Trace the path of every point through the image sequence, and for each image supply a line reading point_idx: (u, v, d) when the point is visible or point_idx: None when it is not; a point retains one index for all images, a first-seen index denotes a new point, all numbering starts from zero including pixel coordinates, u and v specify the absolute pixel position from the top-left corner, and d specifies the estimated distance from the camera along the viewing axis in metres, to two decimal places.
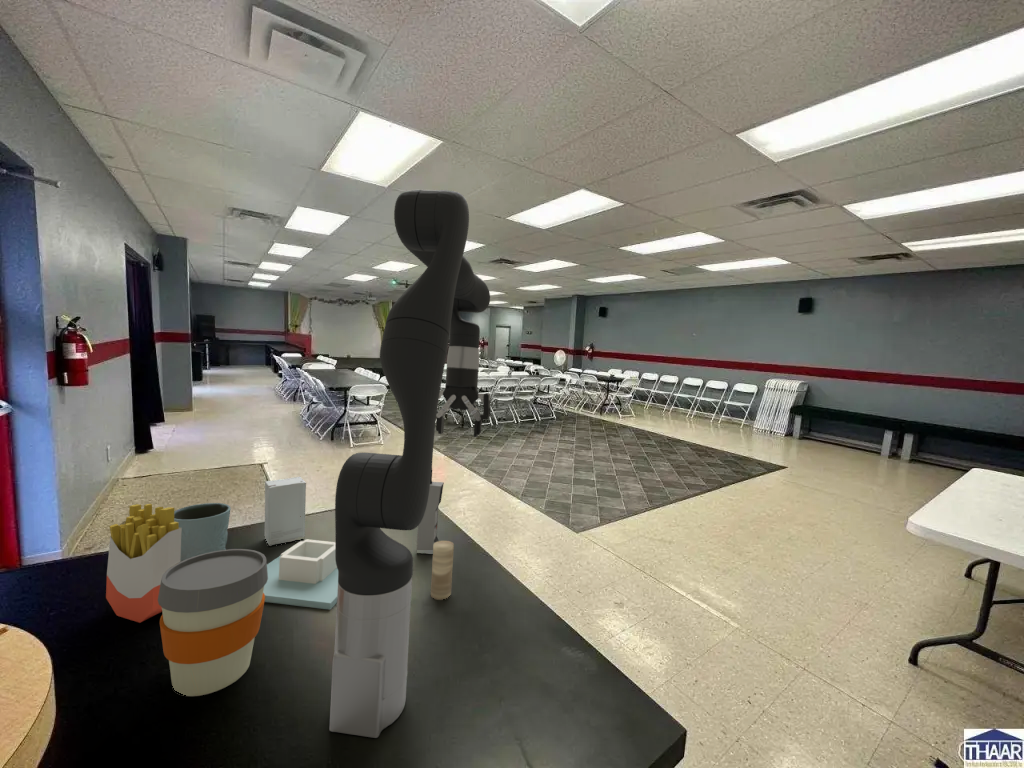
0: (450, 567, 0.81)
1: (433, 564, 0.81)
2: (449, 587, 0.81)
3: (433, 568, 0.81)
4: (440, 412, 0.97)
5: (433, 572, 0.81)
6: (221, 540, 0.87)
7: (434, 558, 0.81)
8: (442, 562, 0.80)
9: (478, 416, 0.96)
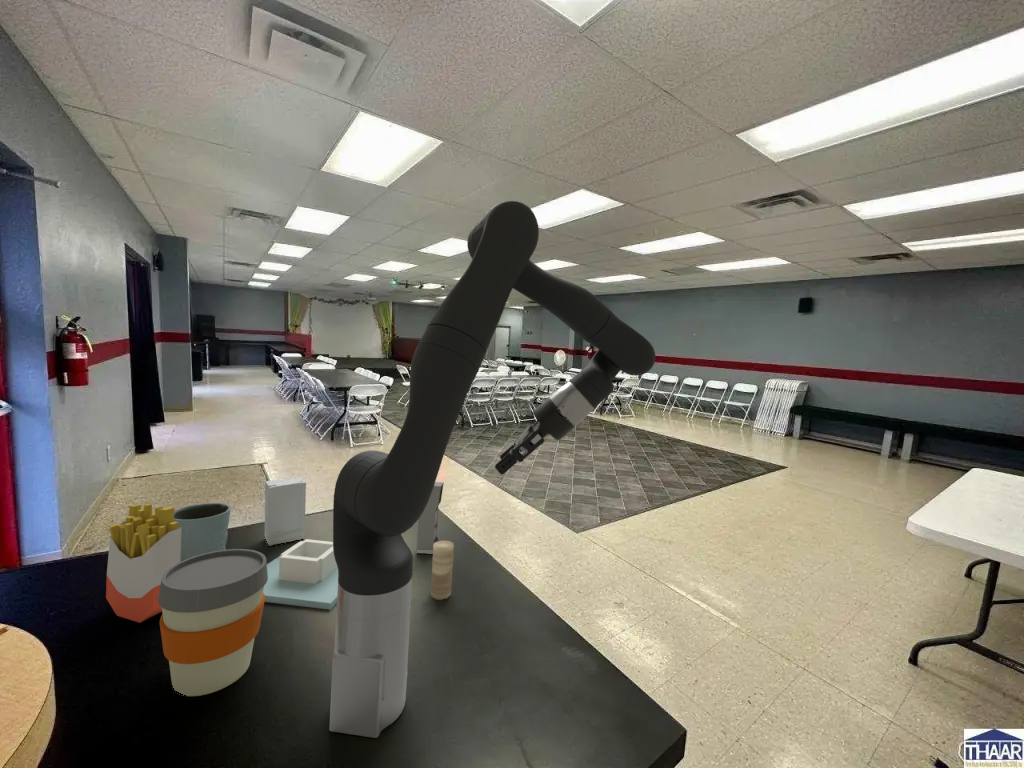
0: (450, 567, 0.81)
1: (433, 564, 0.81)
2: (449, 587, 0.81)
3: (433, 568, 0.81)
4: (517, 439, 0.84)
5: (433, 572, 0.81)
6: (221, 540, 0.87)
7: (434, 558, 0.81)
8: (442, 562, 0.80)
9: (513, 448, 0.75)
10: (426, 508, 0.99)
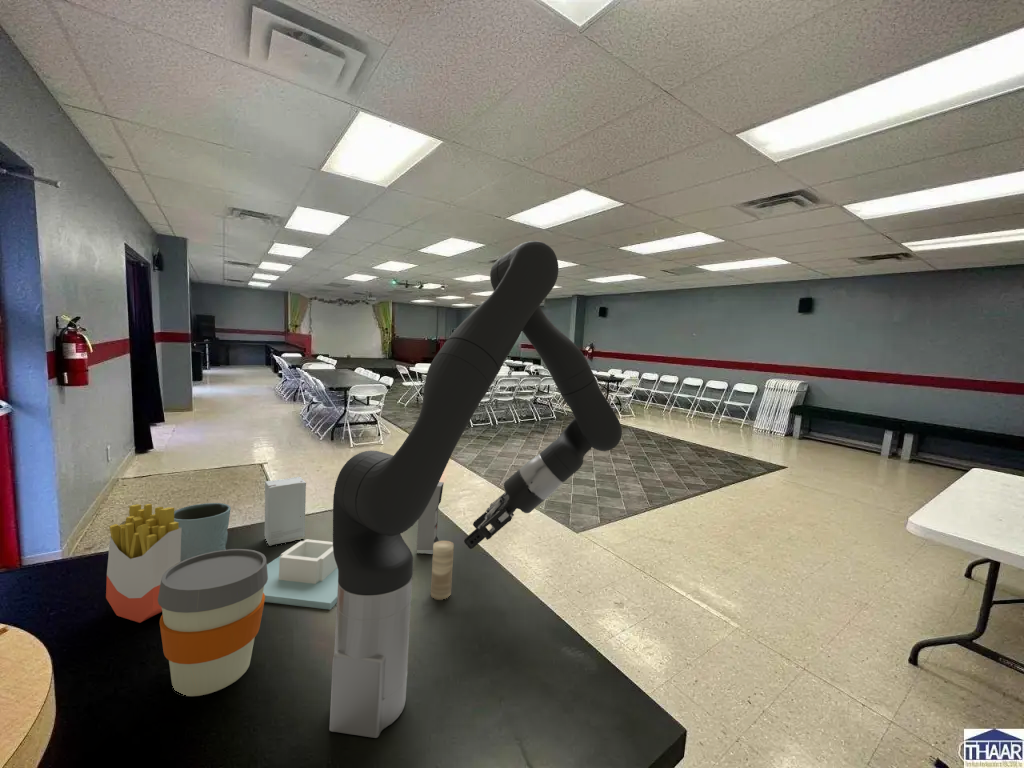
0: (450, 567, 0.81)
1: (433, 564, 0.81)
2: (449, 587, 0.81)
3: (433, 568, 0.81)
4: (490, 507, 0.85)
5: (433, 572, 0.81)
6: (221, 540, 0.87)
7: (434, 558, 0.81)
8: (442, 562, 0.80)
9: (481, 524, 0.76)
10: (426, 508, 0.99)
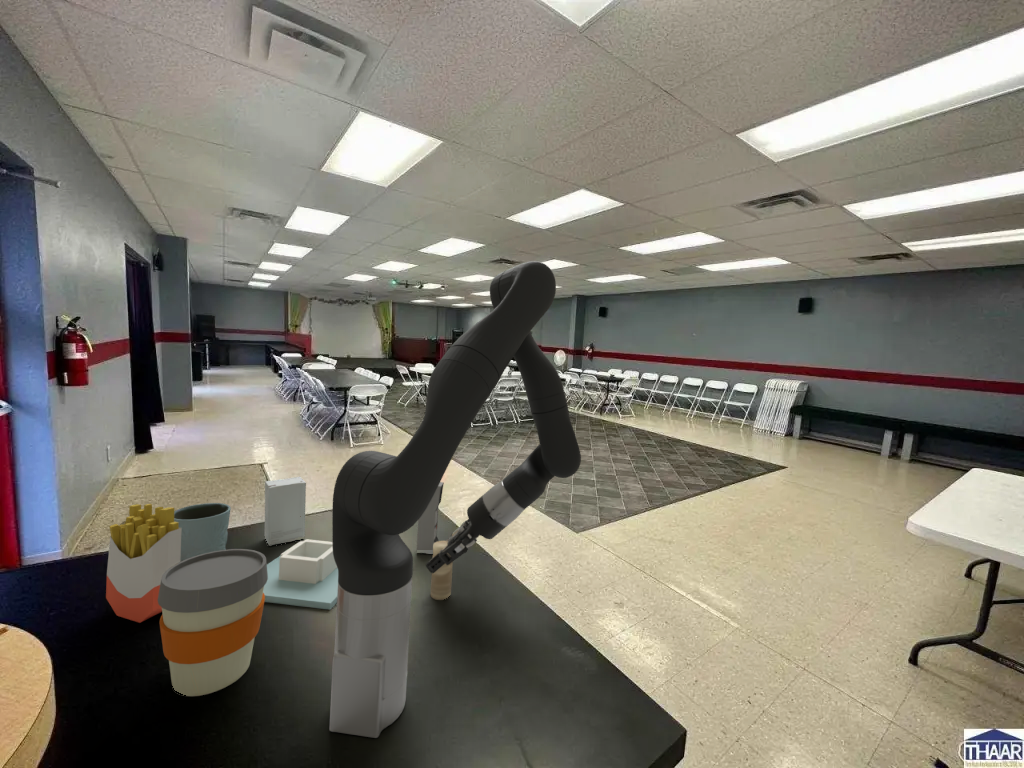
0: (450, 567, 0.81)
1: None
2: (449, 587, 0.81)
3: None
4: (451, 537, 0.84)
5: None
6: (221, 540, 0.87)
7: None
8: None
9: (443, 549, 0.79)
10: (426, 508, 0.99)
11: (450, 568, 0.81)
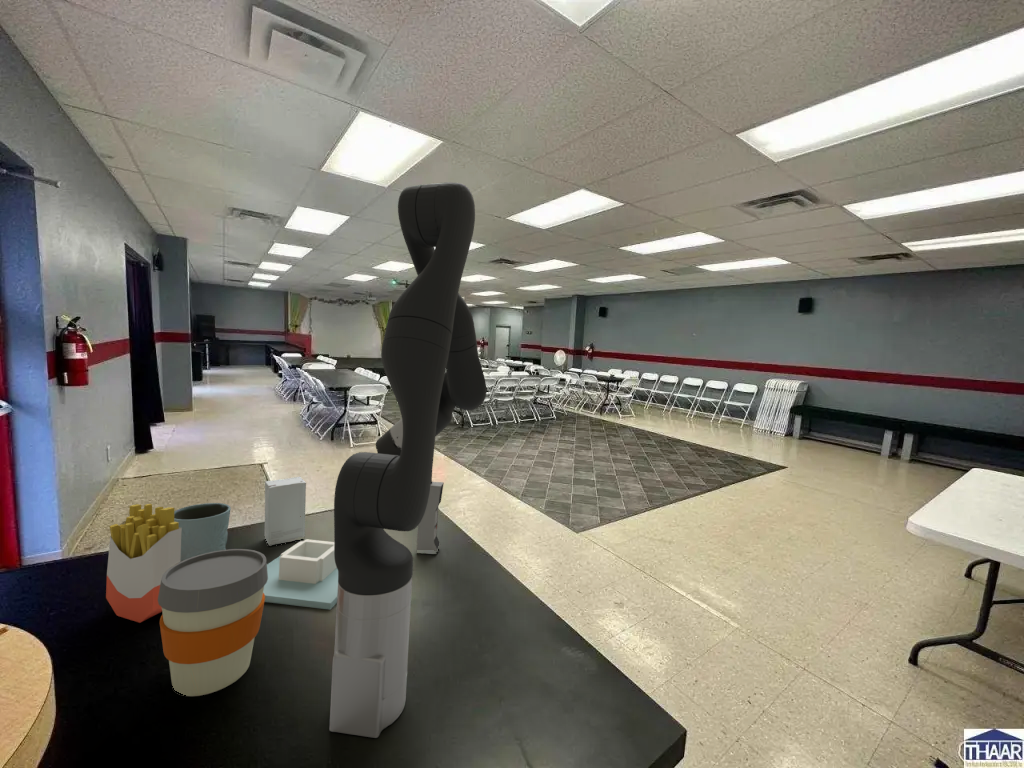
0: None
1: None
2: None
3: None
4: None
5: None
6: (221, 540, 0.87)
7: None
8: None
9: None
10: (426, 508, 0.99)
11: None
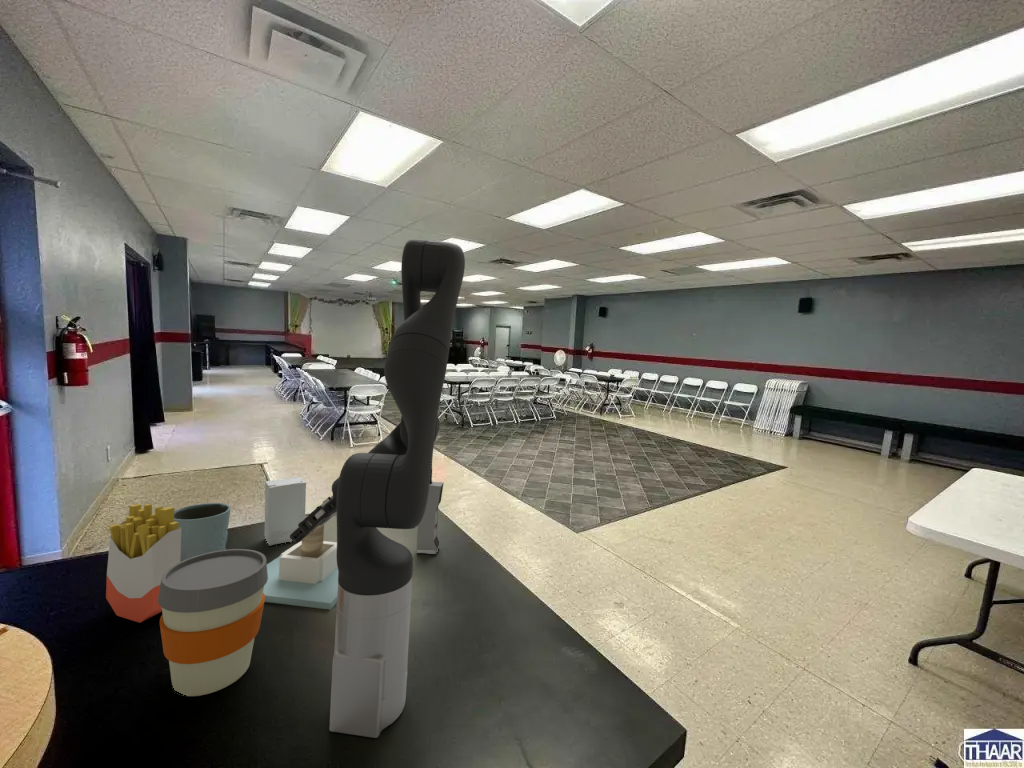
0: (318, 544, 0.85)
1: (302, 541, 0.84)
2: None
3: (302, 545, 0.84)
4: None
5: (301, 549, 0.84)
6: (221, 540, 0.87)
7: None
8: (309, 539, 0.83)
9: None
10: (426, 508, 0.99)
11: (318, 545, 0.85)
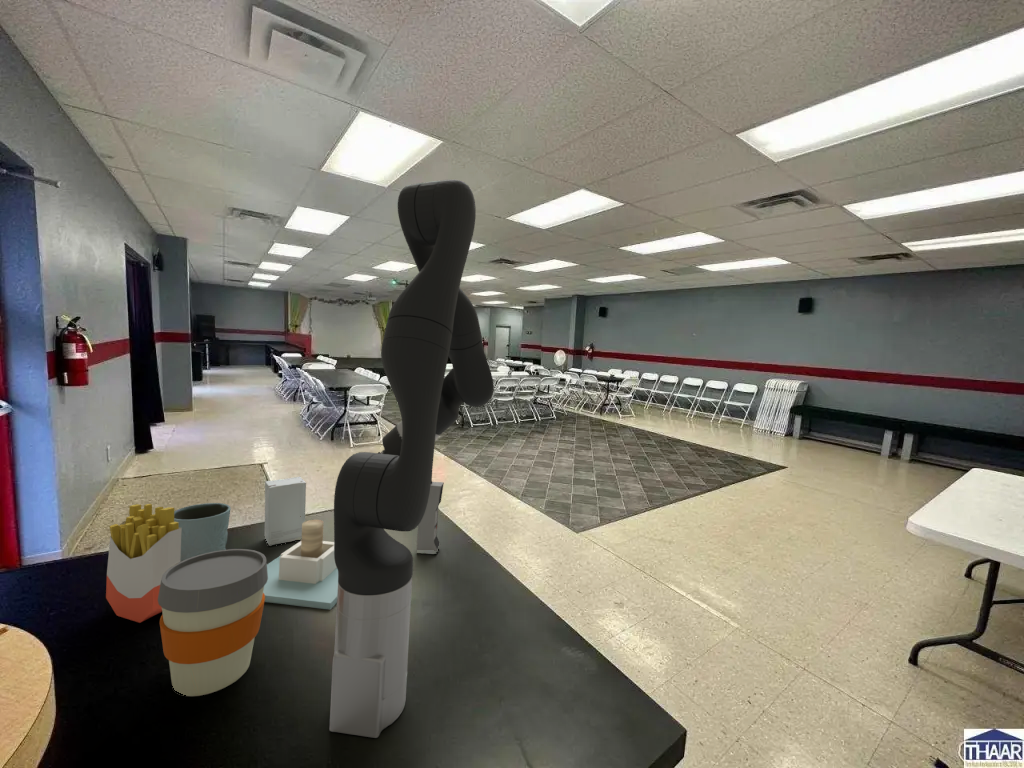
0: (318, 544, 0.85)
1: (301, 541, 0.84)
2: None
3: (301, 545, 0.84)
4: None
5: (301, 549, 0.84)
6: (221, 540, 0.87)
7: (302, 536, 0.84)
8: (309, 539, 0.84)
9: None
10: (426, 508, 0.99)
11: (318, 545, 0.85)
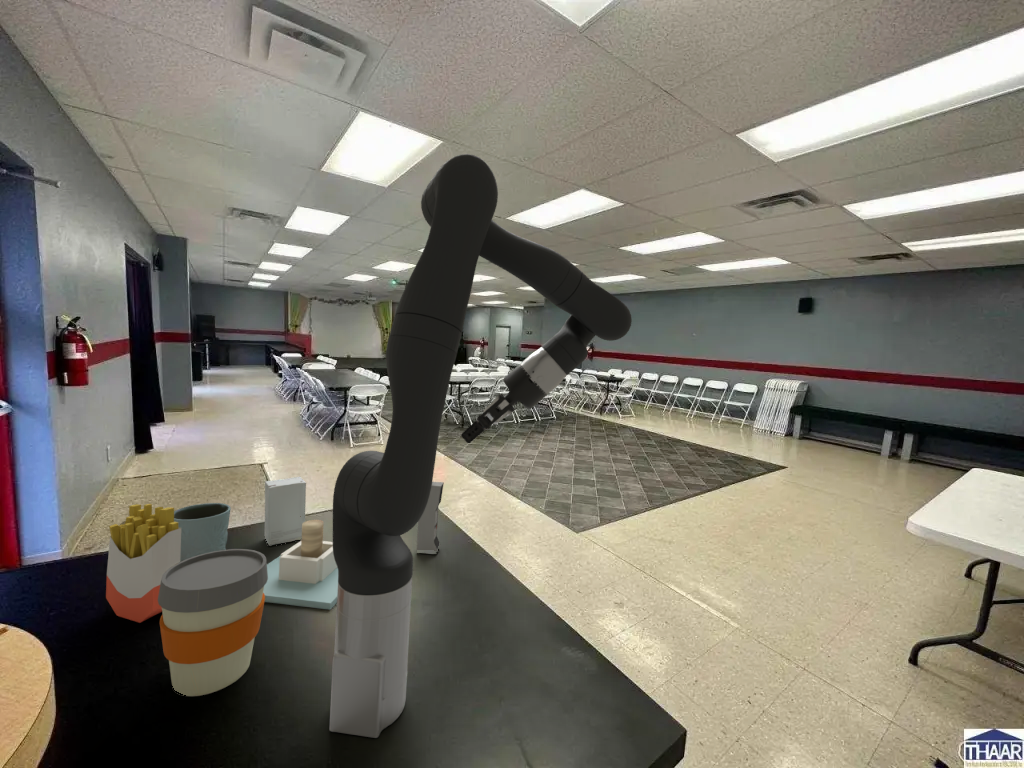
0: (318, 544, 0.85)
1: (301, 541, 0.84)
2: None
3: (301, 545, 0.84)
4: None
5: (301, 549, 0.84)
6: (221, 540, 0.87)
7: (302, 536, 0.84)
8: (309, 539, 0.83)
9: None
10: (426, 508, 0.99)
11: (318, 545, 0.85)
